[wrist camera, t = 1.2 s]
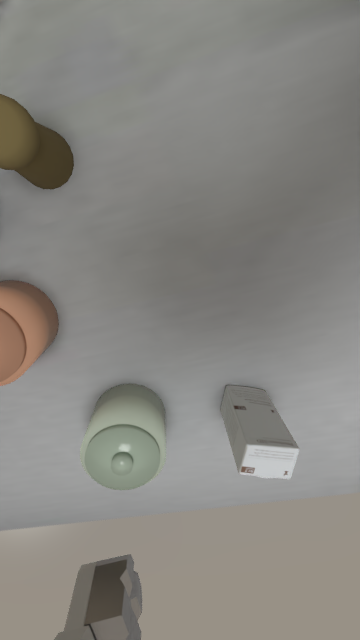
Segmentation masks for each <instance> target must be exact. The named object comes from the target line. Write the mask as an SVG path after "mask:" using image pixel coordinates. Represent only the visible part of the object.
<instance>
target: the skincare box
mask: <svg viewBox="0 0 360 640" xmlns="http://www.w3.org/2000/svg"><path fill="white" fill-rule="evenodd" d="M220 410H221V414H222V417H223V420H224V424H225V427H226V431H227V434H228V438H229V441H230V445H231V448H232V452H233V455H234V459H235V462H236V466H237V469H238V473H239V474H242V475H252V476H257V477H261V478H281V479H290V478H291V475H292V473H293V469H294V466H295V463H296V460H297V457H298V453H299V447H298V446H297V444H296V442H295V441H294V439H293V437H292V435H291V434H290V432H289V430H288V429H287V427H286V425H285V424H284V422H283V420H282V419H281V417H280V415H279V413H278V412H277V410H276V408H275V407H274V405H273V403H272V402H271V400H270V398H269V397H268V395H267V393H266V392H265V391H264V390H262V389H256V388H250V387H242V386H233V385H227V386H226V389H225V392H224V396H223V400H222V405H221V409H220Z"/></svg>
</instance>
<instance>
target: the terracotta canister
mask: <svg viewBox="0 0 360 640" xmlns="http://www.w3.org/2000/svg"><path fill="white" fill-rule="evenodd" d="M58 325H59V323H58V315H57V311H56V309H55V307H54V305H53V303H52V301H51V300H50V299H49V298H48V296H47V295H46V294H45V293H44V292H42V291H41V290H40V289H38V288H37V287H35V286H33V285H31V284H29V283H25V282H22V281H15V280H9V281H2V282H0V386H2V385H6V384H9V383H11V382H13V381H15V380H16V379H18V378H19V377H20V376H21V375H23V374H24V373H25V371H26V370H27V369H28V368H29V367H30V366H31V365H32V364H33V363H34V362H35V361H36V360H37V359H38V358H39V357H40V355H41V354H42V353H43V352H44V351H45V350H46V349H47V348H48V347H49V346H50V345H51V343H52V342H53V341H54V339H55V337H56V335H57V331H58Z"/></svg>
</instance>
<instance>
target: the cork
mask: <svg viewBox="0 0 360 640" xmlns="http://www.w3.org/2000/svg"><path fill="white" fill-rule="evenodd" d="M73 166H74V163H73V154H72V152H71V149H70V146H69V145H68V144H67V142H66V141H65V139H64V138H63V137H61V136H60V135H59V134H58V133H57V132H55V131H53V130H51V129H49V128H46V127H44V126H42V125H40V124H38V123H36V122H34V120H33V118H32V117H31V116H30V114H29V113H28V111H27V110H26V109H25V108H24V107H23V106H21V105H20V104H19V103H18V102H17V101H15V100H14V99H12V98H9V97H7V96H4V95H2V94H0V168H2V169H5V170H15V171H16V172H18V173H19V174H20V175H22V176H23V177H24V178H26V179H27V180H28V181H30V182H31V183H32V184H34V185H35V186H37V187H40V188H43V189H55V188H58V187H61V186H62V185H63V184H65V183H66V182H67V181H68V179H69V178H70V176H71V175H72V170H73Z"/></svg>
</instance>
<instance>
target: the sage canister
mask: <svg viewBox="0 0 360 640" xmlns="http://www.w3.org/2000/svg"><path fill="white" fill-rule="evenodd" d="M80 459H81V463H82V466H83V468H84V470H85V471H86V473H87V474H88V475H89V476H90V477H91V478H92V479H93V480H95V481H96V482H97V483H99V484H101V485H102V486H105V487H107V488H110V489H115V490H129V489H134V488H137V487H140V486H142V485H144V484H146V483H148V482H150V481H151V480H153V479H154V478H155V477H156V476H157V475H158V474H159V473H160V471H161V470H162V468H163V466H164V463H165V459H166V433H165V410H164V406H163V403H162V401H161V399H160V398H159V397H158V396H157V395H156V394H155V393H154V392H153V391H152V390H150V389H148V388H146V387H144V386H141V385H137V384H122V385H118V386H115V387H113V388H111V389H109V390H107V391H106V392H105V393H104V394H103V395H102V396H101V397H100V398H99V400H98V402H97V404H96V406H95V409H94V412H93V414H92V417H91V420H90V423H89V425H88V428H87V431H86V434H85V437H84V439H83V442H82V445H81V449H80Z"/></svg>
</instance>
